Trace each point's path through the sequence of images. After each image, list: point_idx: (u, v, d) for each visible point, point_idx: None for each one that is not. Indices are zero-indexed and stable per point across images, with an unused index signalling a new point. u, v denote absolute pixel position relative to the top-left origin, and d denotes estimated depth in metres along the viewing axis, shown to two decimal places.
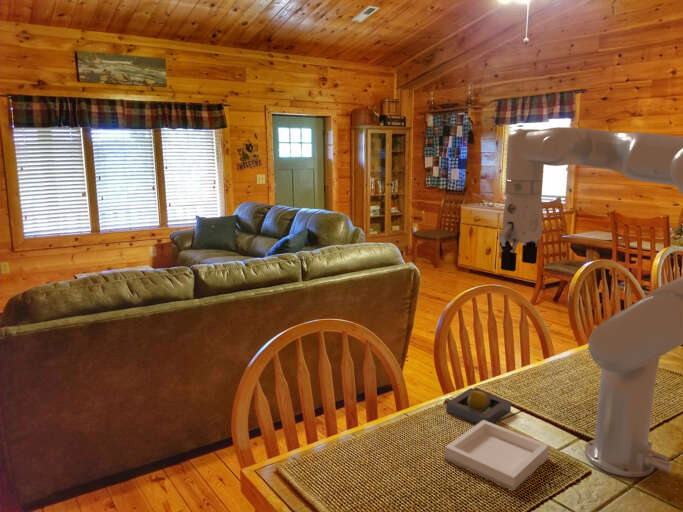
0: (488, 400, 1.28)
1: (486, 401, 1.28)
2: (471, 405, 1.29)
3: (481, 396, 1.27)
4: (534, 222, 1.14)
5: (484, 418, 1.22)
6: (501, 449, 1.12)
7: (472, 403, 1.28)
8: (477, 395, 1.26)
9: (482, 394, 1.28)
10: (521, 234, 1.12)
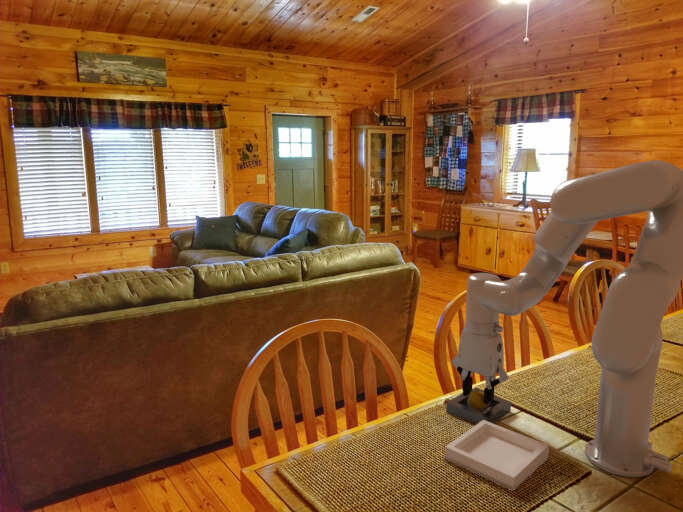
0: None
1: None
2: (471, 405, 1.29)
3: (481, 396, 1.27)
4: None
5: (484, 418, 1.22)
6: (501, 449, 1.12)
7: (472, 403, 1.28)
8: (477, 395, 1.26)
9: (482, 394, 1.28)
10: None
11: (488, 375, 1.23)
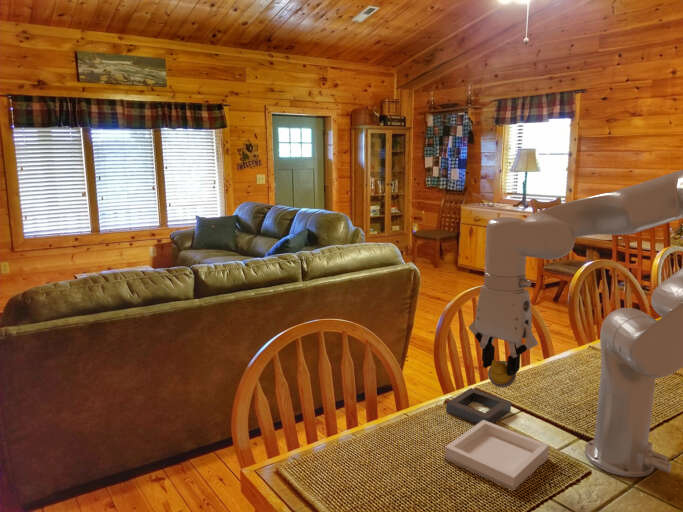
0: None
1: None
2: (493, 378, 1.07)
3: (505, 367, 1.06)
4: None
5: (484, 418, 1.22)
6: (501, 449, 1.12)
7: (494, 376, 1.06)
8: (500, 365, 1.05)
9: (506, 365, 1.07)
10: None
11: (513, 340, 1.02)
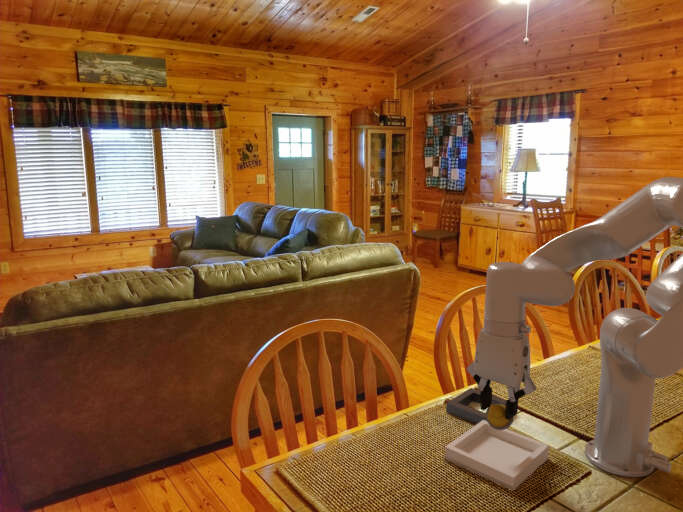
0: None
1: None
2: (491, 421, 1.07)
3: (503, 410, 1.06)
4: None
5: (484, 418, 1.22)
6: (501, 449, 1.12)
7: (492, 419, 1.07)
8: (498, 409, 1.05)
9: (504, 408, 1.07)
10: None
11: (512, 385, 1.02)
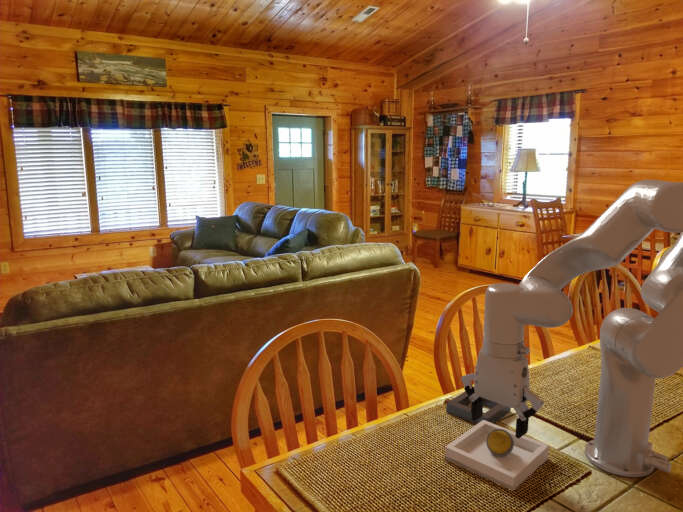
0: (511, 442, 1.09)
1: (509, 443, 1.08)
2: (491, 447, 1.09)
3: (503, 437, 1.07)
4: None
5: (484, 418, 1.22)
6: None
7: (492, 446, 1.08)
8: (499, 437, 1.06)
9: (504, 435, 1.08)
10: None
11: (511, 406, 1.03)
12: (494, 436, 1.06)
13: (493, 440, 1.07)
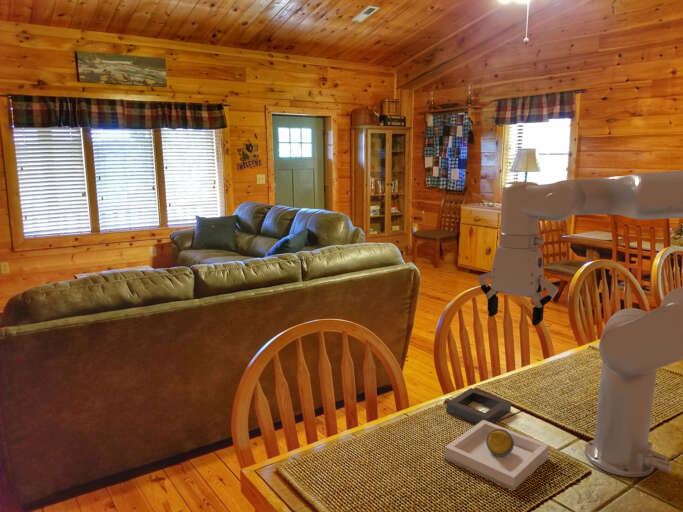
0: (511, 442, 1.09)
1: (509, 443, 1.08)
2: (491, 447, 1.09)
3: (503, 437, 1.07)
4: None
5: (484, 418, 1.22)
6: None
7: (492, 446, 1.08)
8: (499, 437, 1.06)
9: (504, 435, 1.08)
10: None
11: (528, 294, 1.11)
12: (494, 436, 1.06)
13: (493, 440, 1.07)
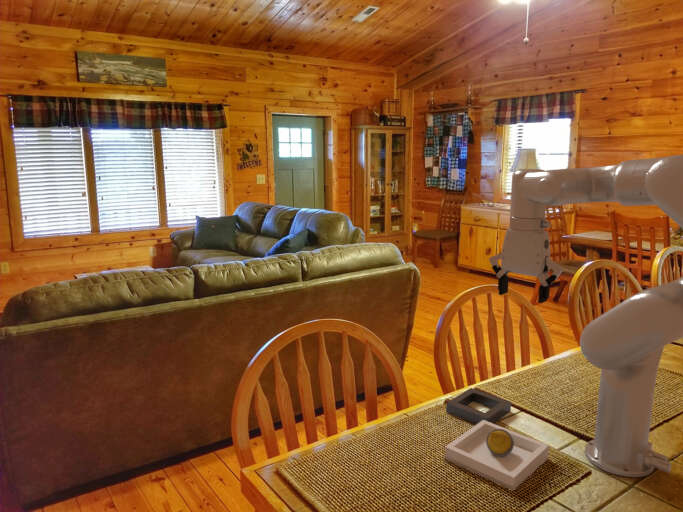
0: (511, 442, 1.09)
1: (509, 443, 1.08)
2: (491, 447, 1.09)
3: (503, 437, 1.07)
4: None
5: (484, 418, 1.22)
6: None
7: (492, 446, 1.08)
8: (499, 437, 1.06)
9: (504, 435, 1.08)
10: None
11: (535, 274, 1.19)
12: (494, 436, 1.06)
13: (493, 440, 1.07)
